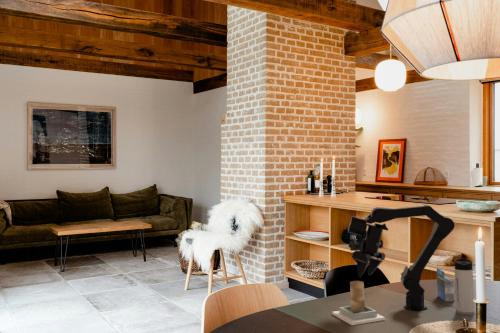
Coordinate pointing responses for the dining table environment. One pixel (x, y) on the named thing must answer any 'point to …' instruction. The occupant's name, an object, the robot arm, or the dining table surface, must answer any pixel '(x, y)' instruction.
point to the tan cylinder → (357, 296)
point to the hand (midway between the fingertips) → (364, 276)
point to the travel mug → (464, 287)
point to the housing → (357, 315)
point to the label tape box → (444, 287)
